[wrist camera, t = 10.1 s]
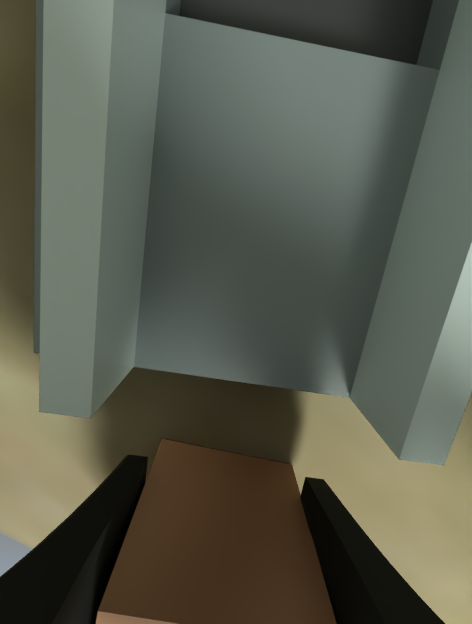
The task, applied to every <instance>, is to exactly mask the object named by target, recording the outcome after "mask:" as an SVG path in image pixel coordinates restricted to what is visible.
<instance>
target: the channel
mask: <svg viewBox="0 0 472 624" xmlns="http://www.w3.org/2000/svg"><path fill="white" fill-rule="evenodd" d="M34 353H40V370H39V412H45V413H52V414H60V415H67V416H75V417H82V418H90V419H91V417H92V416H93V415H94V414H95V413H96V411H97V410H98V409H99V408H100V407H101V405H102V404H103V403H104V402H105V401H106V399H107V398H108V397H109V396H110V395H111V393H112V392H113V391H114V390H115V389H116V387H117V386H118V385H119V384H120V383H121V381H122V380H123V379H124V378H125V377H126V376H127V374H128V373H129V372H130V371H131V370H132V368H133V367H138V368H145V369H152V370H159V371H166V372H173V373H180V374H187V375H194V376H201V377H208V378H215V379H222V380H229V381H236V382H243V383H250V384H257V385H264V386H271V387H278V388H285V389H292V390H299V391H306V392H313V393H320V394H327V395H334V396H341V397H348V398H350V399H351V400H352V401H353V403H354V404H355V405H356V406H357V408H358V409H359V410H360V411H361V413H362V414H363V415H364V416H365V418H366V419H367V420H368V421H369V423H370V424H371V425H372V426H373V428H374V429H375V430H376V431H377V433H378V434H379V435H380V436H381V438H382V439H383V440H384V441H385V443H386V444H387V445H388V446H389V448H390V449H391V450H392V451H393V453H394V454H395V455H396V456H397V458H398V459H400V460H407V461H415V462H422V463H430V464H437V465H444V464H445V461H446V459H447V456H448V453H449V451H450V448H451V445H452V443H453V440H454V437H455V435H456V432H457V430H458V427H459V424H460V422H461V419H462V416H463V414H464V411H465V408H466V406H467V403H468V400H469V398H470V395H471V392H472V0H36V59H35V221H34Z"/></svg>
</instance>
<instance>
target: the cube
mask: <svg viewBox="0 0 472 624" xmlns="http://www.w3.org/2000/svg"><path fill="white" fill-rule="evenodd" d="M300 497H301V495H300V492H299V488H298V485H297V481H296V477H295V474H294V470H293V467H292V465H291V464H286V463H281V462H276V461H271V460H266V459H261V458H256V457H251V456H246V455H241V454H236V453H231V452H226V451H221V450H216V449H211V448H206V447H201V446H196V445H191V444H186V443H181V442H176V441H171V440H166V439H161V442H160V445H159V447H158V450H157V453H156V455H155V458H154V461H153V464H152V466H151V469H150V472H149V474H148V477H147V480H146V482H145V485H144V488H143V491H142V493H141V496H140V499H139V501H138V504H137V507H136V509H135V512H134V515H133V518H132V520H131V523H130V526H129V528H128V531H127V534H126V537H125V539H124V542H123V545H122V547H121V550H120V553H119V555H118V558H117V561H116V564H115V566H114V569H113V572H112V574H111V577H110V580H109V582H108V585H107V588H106V591H105V593H104V596H103V599H102V601H101V604H100V607H99V609H98V613H97V619H96V624H337V623H336V620H335V616H334V613H333V609H332V605H331V602H330V598H329V595H328V591H327V588H326V584H325V581H324V577H323V573H322V570H321V566H320V563H319V559H318V556H317V552H316V549H315V545H314V541H313V539H312V536H311V533H310V530H309V527H308V524H307V520H306V517H305V513H304V509H303V506H302V502H301V499H300Z"/></svg>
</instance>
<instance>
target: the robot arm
mask: <svg viewBox="0 0 472 624" xmlns="http://www.w3.org/2000/svg"><path fill="white" fill-rule="evenodd" d="M147 461H148V457H143V456H135V455H128V456H126V457H125V458H124V459H123V460H122V462H121V463H120V464H119V465H118V466H117V467H116V468H115V469H114V471H113V472H112V473H111V474H110V475H109V476H108V477H107V478H106V479H105V480H104V481H103V482H102V484H101V485H100V486H99V487H98V488H97V489H96V490H95V491H94V492H93V493H92V494H91V495H90V496H89V497H88V498H87V499H86V500H85V501H84V502H83V503H82V504H81V505H80V506H79V507H78V508H77V509H76V510H75V511H74V512H73V513H72V514H71V515H70V516H69V517H68V518H67V519H65V520H64V521H63V522H62V523H61V524H60V525H59V526H58V527H57V528H56V529H55V530H54V531H52V532H51V533H50V534H49V535H48V536H47V537H46V538H45V539H44V540H43V541H42V542H41V543H39V544H38V545H37V546H36V547H35V548H34V549H33V550H31V551H30V552H29V553H28V554H27V555H26V556H25V557H23V558H22V559H21V560H20V561H19V562H18V563H16V564H15V565H14V566H13V567H12V568H10V569H9V570H8V571H7V572H6V573H4V574H3V575H2V576H1V577H0V624H96V619H97V613H98V609H99V607H100V604H101V601H102V599H103V596H104V593H105V591H106V588H107V585H108V582H109V580H110V577H111V574H112V572H113V569H114V566H115V564H116V561H117V558H118V555H119V553H120V550H121V547H122V545H123V542H124V539H125V537H126V534H127V531H128V528H129V526H130V523H131V520H132V518H133V515H134V512H135V509H136V507H137V504H138V501H139V499H140V496H141V493H142V491H143V488H144V485H145V479H146V470H147ZM300 499H301V502H302V506H303V509H304V513H305V517H306V520H307V524H308V527H309V530H310V533H311V536H312V539H313V541H314V545H315V549H316V552H317V556H318V559H319V563H320V566H321V570H322V573H323V577H324V581H325V584H326V588H327V591H328V595H329V598H330V602H331V605H332V609H333V613H334V616H335V620H336V623H337V624H445V623H444V622H443V621H442V620H441V619H440V618H439V617H438V616H437V615H436V614H435V613H434V612H433V611H432V610H431V608H430V607H429V606H428V605H427V604H426V603H425V602H424V601H423V600H422V599H421V598H420V597H419V596H418V594H417V593H416V592H415V591H414V590H413V589H412V588H411V587H410V585H409V584H408V583H407V582H406V581H405V580H404V579H403V577H402V576H401V575H400V574H399V573H398V572H397V571H396V569H395V568H394V567H393V566H392V565H391V564H390V563H389V561H388V560H387V559H386V558H385V557H384V555H383V554H382V553H381V552H380V551H379V549H378V548H377V547H376V546H375V545H374V543H373V542H372V541H371V540H370V538H369V537H368V536H367V535H366V533H365V532H364V531H363V530H362V528H361V527H360V526H359V525H358V523H357V522H356V521H355V520H354V518H353V517H352V516H351V514H350V513H349V512H348V510H347V509H346V508H345V507H344V505H343V504H342V503H341V501H340V500H339V499H338V497H337V496H336V495H335V494H334V492H333V491H332V490H331V488H330V487H329V486H328V484H327V483H326V482H325V481H324V479H316V478H308V477H305V481H304V485H303V489H302V493H301V497H300Z"/></svg>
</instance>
